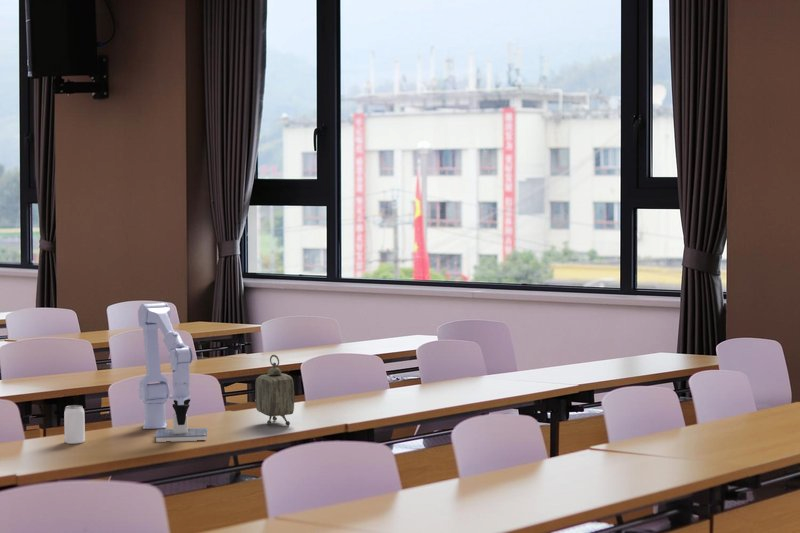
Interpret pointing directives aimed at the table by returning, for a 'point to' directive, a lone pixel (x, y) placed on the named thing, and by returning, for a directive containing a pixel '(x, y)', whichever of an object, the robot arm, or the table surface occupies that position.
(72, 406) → the can
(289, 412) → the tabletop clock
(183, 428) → the block
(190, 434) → the notebook
